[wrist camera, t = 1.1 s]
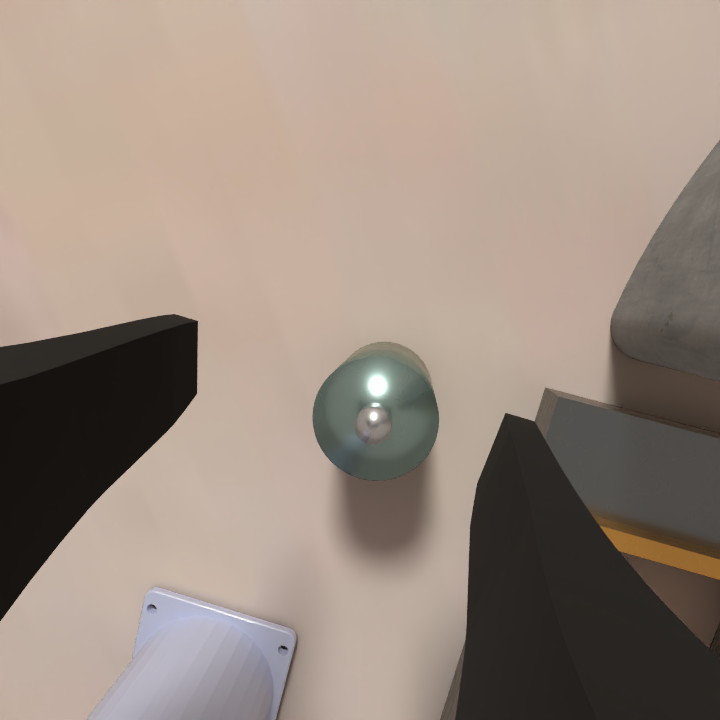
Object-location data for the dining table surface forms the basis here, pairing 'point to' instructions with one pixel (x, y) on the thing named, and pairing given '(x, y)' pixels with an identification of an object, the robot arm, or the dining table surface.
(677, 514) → the grey square hole board
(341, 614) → the dining table surface
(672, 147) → the dining table surface
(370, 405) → the spout can
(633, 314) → the hip flask
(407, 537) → the dining table surface
